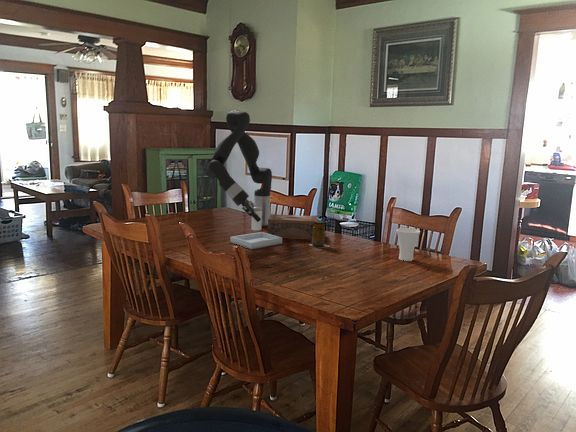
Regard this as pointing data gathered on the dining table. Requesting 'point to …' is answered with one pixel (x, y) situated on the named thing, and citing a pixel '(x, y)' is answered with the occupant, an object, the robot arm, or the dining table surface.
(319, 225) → the condiment
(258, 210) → the cylinder
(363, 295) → the dining table surface
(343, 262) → the dining table surface
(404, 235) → the cup
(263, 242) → the tray
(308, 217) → the tissue box cover
